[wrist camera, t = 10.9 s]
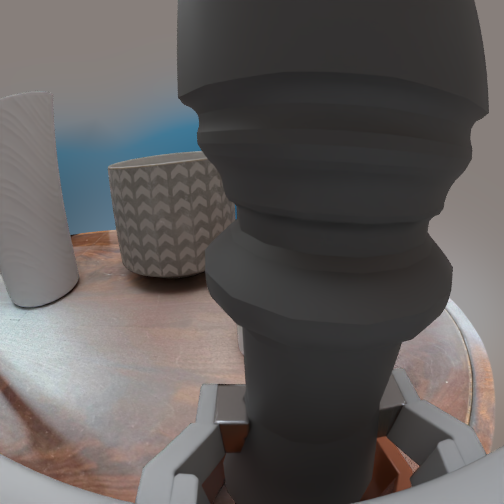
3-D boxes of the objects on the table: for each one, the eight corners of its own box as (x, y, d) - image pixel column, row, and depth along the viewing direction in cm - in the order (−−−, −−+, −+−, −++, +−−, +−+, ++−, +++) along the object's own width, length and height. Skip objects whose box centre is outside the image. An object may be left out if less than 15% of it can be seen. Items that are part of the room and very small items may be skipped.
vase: (95, 272, 48) (71, 91, 36) (48, 316, 35) (7, 90, 23) (43, 269, 50) (18, 112, 37) (-2, 304, 37) (-39, 120, 24)
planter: (233, 296, 41) (225, 158, 34) (108, 294, 41) (84, 173, 34) (240, 244, 58) (236, 149, 51) (146, 247, 59) (135, 157, 52)
